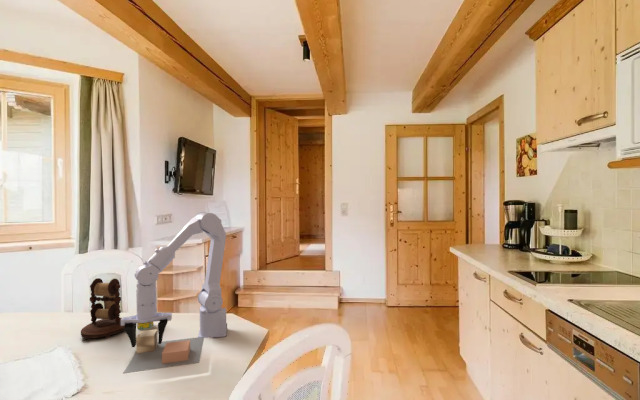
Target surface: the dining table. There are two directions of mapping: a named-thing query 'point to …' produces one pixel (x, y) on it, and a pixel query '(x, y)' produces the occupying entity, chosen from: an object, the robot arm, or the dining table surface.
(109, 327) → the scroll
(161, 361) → the build board
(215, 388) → the dining table surface
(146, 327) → the supplement bottle
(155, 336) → the beech cube
